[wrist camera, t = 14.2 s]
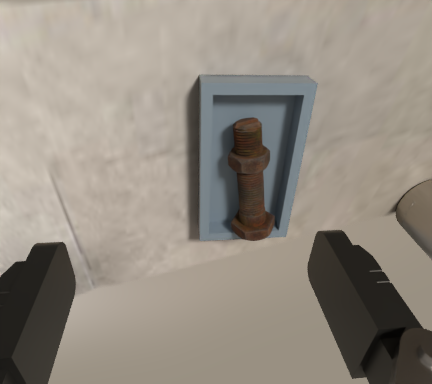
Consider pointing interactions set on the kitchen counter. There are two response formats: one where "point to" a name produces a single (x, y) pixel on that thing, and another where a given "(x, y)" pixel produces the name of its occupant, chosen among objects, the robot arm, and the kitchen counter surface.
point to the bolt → (250, 180)
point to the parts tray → (271, 138)
